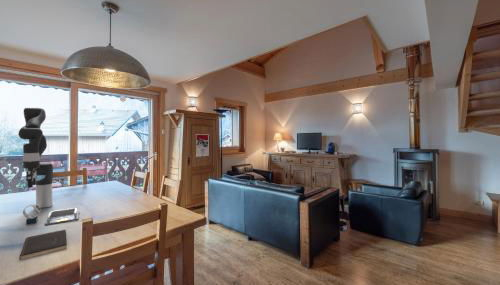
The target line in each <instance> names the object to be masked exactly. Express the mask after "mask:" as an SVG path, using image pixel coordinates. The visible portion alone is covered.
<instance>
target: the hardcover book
mask: <svg viewBox="0 0 500 285" xmlns="http://www.w3.org/2000/svg"><path fill="white" fill-rule="evenodd" d="M67 241H68V240H67V229H62V230H56V231H52V232H45V233H40V234H37V235H31V236H27V237H26V238H24V241H23V242H24V243H23V246H22V248H21V252H20V253H19V254H20V255H19V260H23V259H28V258H32V257H35V256H40V255H43V254H47V253H52V252H56V251H60V250H64V248H65V249H66V248H67V246H68V243H67Z"/></svg>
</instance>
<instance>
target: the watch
mask: <svg viewBox="0 0 500 285" xmlns="http://www.w3.org/2000/svg"><path fill="white" fill-rule="evenodd" d="M28 207H33V210H34V211H35V212H37V213H38V214H36V215H31V216H29V215H28V214H27V213H26V209H27V208H28ZM41 211H42V208H40V207H39V206H38V205H36V204H29V205H27V206H25V208H23V210H22V214H23V216H24V217H25V218H26V219H25V225H26V226H28V225H33V224H37V222H38V221H39V220H38V219H39V215H40V213H41Z"/></svg>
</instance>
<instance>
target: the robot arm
mask: <svg viewBox="0 0 500 285" xmlns="http://www.w3.org/2000/svg"><path fill="white" fill-rule="evenodd" d="M46 113H47V112H46V110H45V109H44V108H43V107H25V108H24V109H23V116H24V121H25V125H24V126H22V127H21V128H20V129H19V131H18V137H19V138H20V139H22V140H28V143H24V144H23V146H22V148H23V149H22V150H23V151H22V153H23V154H22V169H26V170H27V171H25V173H26V174H25V176H26V179H25V180H26V182H27V188H28V189H29V188H30V189H31V188H33V187H34V186H35V205H38V206H39V207H40V209H45V208H49V207H52V206H53V205H54V204H53V179H54V177H53V175H54V165H53V164H52V163H51V162H45V163H44V162H41V161H40V160H41V156H43V154H44V152H45V150H46V149H47V146H48V144H47V137H46V136H45V135H44V134H43V130H42V129H41V126H42V124H44V122H45V120H46V116H47V115H46ZM38 176H44V177H43V178H41V179H38V180H36V179H37V177H38Z"/></svg>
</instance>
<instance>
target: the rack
mask: <svg viewBox="0 0 500 285" xmlns="http://www.w3.org/2000/svg"><path fill="white" fill-rule="evenodd" d="M79 216H80V210H78V207H74V208H66V209H58V210H51V211H50V212H49V214H48V215H47V218H46V220H45V222H44V226H50V225H56V224H57V225H58V224H62V223H69V222H74V221H79Z"/></svg>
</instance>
